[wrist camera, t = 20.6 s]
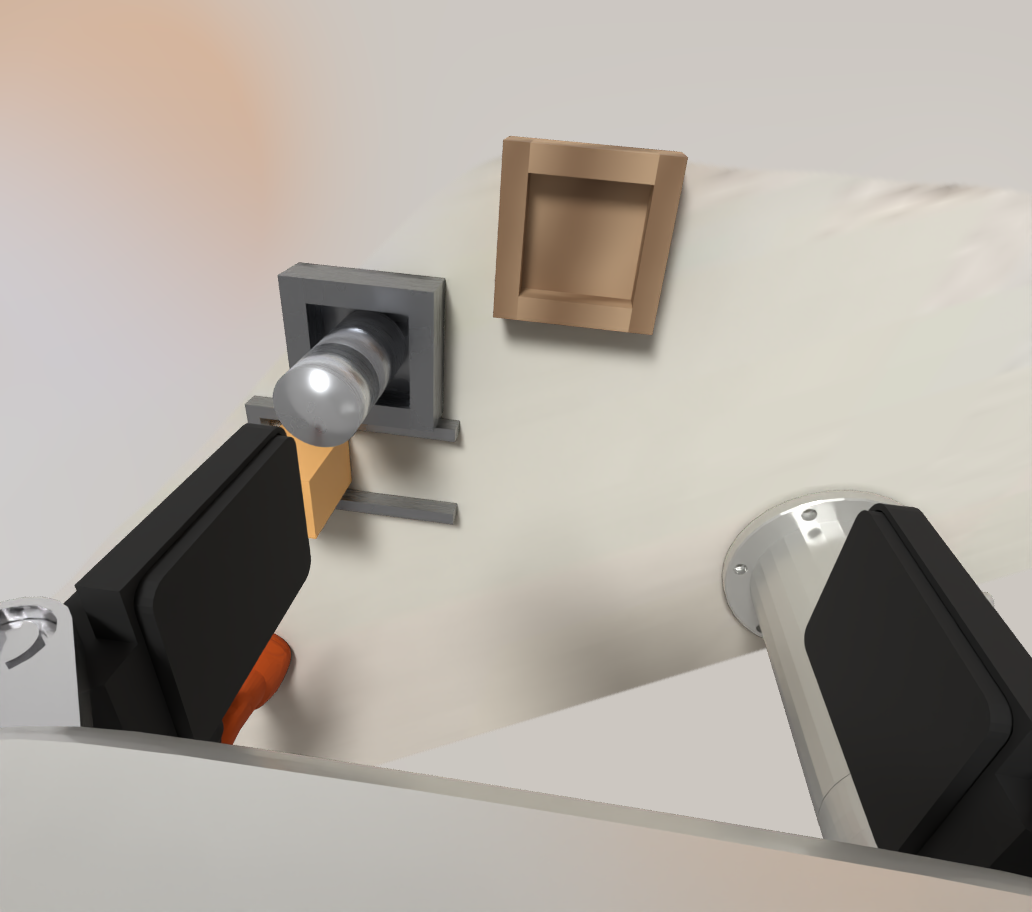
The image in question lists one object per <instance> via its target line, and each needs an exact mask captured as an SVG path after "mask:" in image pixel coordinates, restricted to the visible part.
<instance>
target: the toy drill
mask: <svg viewBox="0 0 1032 912" xmlns="http://www.w3.org/2000/svg"><path fill="white" fill-rule="evenodd" d="M290 660H291V651H290V648H289V646H288V644H287V643H286V642H285V641H284V640H283V639H282V638H280V637H279V636H278V635H276V634H273V635H272V637H271V639H270V640H269V642H268V644H267V645H266V647H265V649H264V650H263V652H262V654H261V655H260V657H259V659H258V660H257V662H256V664H255V665H254V667H253V669H252V670H251V672H250V674H249V675H248V677H247V679H246V680H245V682H244V684H243V685H242V687H241V689H240V690H239V692H238V694H237V695H236V697H235V699H234V701H233V702H232V704H231V706H230V707H229V709H228V711H227V712H226V714H225V716H224V717H223V719H222V721H221V722H220V724H219V726H218V727H217V729H216V731H215V732H214V734H213V736H212V737H211V739H210V740H209V741H208V742H216V743H223V744H230V745H233V743H234V741H235V739H236V737H237V735H238V733H239V731H240V729H241V728H242V727H243V725H244V724H245V722H246V721H247V719H248V718H249V716H250V715H251V714H252V712H253V711H254V710H255V709H258V708H259V707H261V706H262V705H263V704H265V703H266V702H267V701H268V700H269V699H270V698H271V697H272V696H273V695H274V693H275V692H276V691H277V689H278V688H279V686H280V684H281V682H282V680H283V679H284V676H285V674H286V672H287V669H288V667H289V664H290Z"/></svg>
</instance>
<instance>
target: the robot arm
mask: <svg viewBox="0 0 1032 912" xmlns="http://www.w3.org/2000/svg"><path fill="white" fill-rule="evenodd" d="M310 565H311V555H310V547H309V539H308V532H307V524H306V516H305V508H304V501H303V493H302V485H301V477H300V470H299V462H298V454H297V447H296V442H295V440H294V438H292V437H289V436H287V434H286V432H285V430H284V429H283V428H281V427H277V426H269V425H261V424H253V423H246V424H245V425H243V426H242V427H241V428H240V429H239V430H238V431H237V432H236V433H235V434H234V435H232V436H231V437H230V438H229V439H228V440H227V441H226V442H225V443H224V444H223V445H222V446H221V447H220V448H219V449H218V450H217V451H216V452H215V453H213V454H212V455H211V456H210V457H209V458H208V459H207V460H206V461H205V462H204V463H203V464H202V465H201V466H200V467H199V468H198V469H197V470H196V471H194V472H193V473H192V474H191V475H190V476H189V477H188V478H187V479H186V480H185V481H184V482H183V483H182V484H181V485H180V486H179V487H178V488H177V489H175V490H174V491H173V492H172V493H171V494H170V495H169V496H168V497H167V498H166V499H165V500H164V501H163V502H162V503H161V504H160V505H159V506H158V507H157V508H155V509H154V510H153V511H152V512H151V513H150V514H149V515H148V516H147V517H146V518H145V519H144V520H143V521H142V522H141V523H140V524H139V525H138V526H136V527H135V528H134V529H133V530H132V531H131V532H130V533H129V534H128V535H127V536H126V537H125V538H124V539H123V540H122V541H121V542H120V543H119V544H117V545H116V546H115V547H114V548H113V549H112V550H111V551H110V552H109V553H108V554H107V555H106V556H105V557H104V558H103V559H102V560H101V561H100V562H98V563H97V564H96V565H95V566H94V567H93V568H92V569H91V570H90V571H89V572H88V573H87V574H86V575H85V576H84V577H83V578H82V579H81V580H79V581H78V582H77V583H76V584H75V588H76V590H77V591H76V592H75V593H74V594H73V595H72V596H71V597H70V598H69V599H68V600H67V601H66V602H65V603H64V604H63V603H61V602H60V601H58V600H55V599H51V598H46V597H22V598H17V599H12V600H7V601H2V602H0V912H1032V658H1031V656H1030V655H1029V654H1028V652H1027V651H1026V650H1025V649H1024V647H1023V646H1022V644H1021V643H1020V642H1019V641H1018V639H1017V638H1016V636H1015V635H1014V634H1013V632H1012V631H1011V630H1010V629H1009V627H1008V626H1007V624H1006V623H1005V622H1004V621H1003V619H1002V618H1001V617H1000V615H999V614H998V613H997V611H996V610H995V609H994V600H993V598H992V596H991V595H990V594H989V593H988V592H982V591H981V590H980V589H979V587H978V586H977V585H976V583H975V582H974V581H973V579H972V578H971V577H970V575H969V574H968V573H967V571H966V570H965V569H964V567H963V566H962V565H961V563H960V562H959V561H958V559H957V558H956V557H955V555H954V554H953V553H952V551H951V550H950V549H949V547H948V546H947V545H946V543H945V542H944V541H943V540H942V538H941V537H940V536H939V534H938V533H937V532H936V530H935V529H934V528H933V526H932V525H931V524H930V522H929V521H928V520H927V518H926V517H925V516H924V514H923V513H922V512H921V511H920V510H919V509H918V508H914V507H907V506H904V505H902V504H900V503H898V502H896V501H894V500H893V499H891V498H887V497H884V496H881V495H877V494H874V493H870V492H862V491H853V490H837V491H824V492H819V493H813V494H807V495H804V496H801V497H798V498H795V499H792V500H788V501H786V502H784V503H782V504H780V505H778V506H776V507H774V508H772V509H770V510H768V511H766V512H765V513H763V514H762V515H760V516H759V517H758V518H756V519H755V520H753V521H752V522H751V523H750V524H749V525H748V526H747V527H746V528H745V529H744V530H743V531H742V532H741V533H740V534H739V535H738V536H737V538H736V539H735V541H734V542H733V544H732V545H731V547H730V548H729V551H728V553H727V556H726V558H725V561H724V566H723V573H722V579H723V587H724V592H725V595H726V599H727V602H728V605H729V607H730V609H731V610H732V612H733V614H734V616H735V617H736V618H737V619H738V620H739V621H740V622H741V623H742V624H743V626H744V627H746V628H747V629H748V630H750V631H751V632H752V633H754V634H755V635H757V636H759V637H761V638H764V641H765V645H766V648H767V651H768V655H769V658H770V662H771V665H772V668H773V671H774V675H775V678H776V682H777V685H778V688H779V692H780V695H781V698H782V702H783V705H784V709H785V712H786V715H787V719H788V722H789V725H790V729H791V732H792V736H793V739H794V742H795V746H796V749H797V753H798V756H799V759H800V763H801V766H802V769H803V773H804V776H805V779H806V783H807V786H808V790H809V793H810V796H811V800H812V803H813V806H814V810H815V813H816V816H817V820H818V823H819V826H820V829H821V832H822V836H823V839H820V838H814V837H808V836H802V835H796V834H790V833H784V832H778V831H772V830H766V829H760V828H754V827H748V826H742V825H735V824H730V823H723V822H718V821H712V820H706V819H700V818H694V817H688V816H681V815H675V814H669V813H664V812H657V811H651V810H645V809H639V808H633V807H626V806H620V805H614V804H608V803H602V802H595V801H589V800H583V799H577V798H571V797H564V796H558V795H551V794H546V793H539V792H533V791H527V790H521V789H514V788H508V787H502V786H495V785H489V784H483V783H476V782H471V781H464V780H458V779H452V778H445V777H438V776H433V775H426V774H419V773H413V772H406V771H400V770H394V769H388V768H381V767H375V766H368V765H362V764H355V763H349V762H343V761H336V760H330V759H323V758H317V757H310V756H304V755H297V754H291V753H284V752H278V751H271V750H265V749H259V748H252V747H245V746H237V745H230V744H223V743H216V742H208V741H209V740H210V739H211V737H212V736H213V734H214V732H215V731H216V729H217V727H218V726H219V724H220V722H221V721H222V719H223V717H224V716H225V714H226V712H227V711H228V709H229V707H230V706H231V704H232V702H233V701H234V699H235V697H236V695H237V694H238V692H239V690H240V689H241V687H242V685H243V684H244V682H245V680H246V679H247V677H248V675H249V674H250V672H251V670H252V669H253V667H254V665H255V664H256V662H257V660H258V659H259V657H260V655H261V654H262V652H263V650H264V649H265V647H266V645H267V644H268V642H269V640H270V639H271V637H272V635H273V634H274V632H275V630H276V629H277V627H278V625H279V624H280V622H281V620H282V619H283V617H284V615H285V614H286V612H287V610H288V609H289V607H290V605H291V604H292V602H293V600H294V599H295V597H296V595H297V594H298V592H299V590H300V589H301V587H302V585H303V584H304V582H305V580H306V578H307V576H308V573H309V570H310Z"/></svg>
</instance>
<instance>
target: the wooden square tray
mask: <svg viewBox="0 0 1032 912" xmlns="http://www.w3.org/2000/svg"><path fill="white" fill-rule="evenodd" d="M687 160H688V157H687V156H686V155H684V154H683V153H682V152H675V151H665V150H653V149H644V148H643V149H642V148H633V147H622V146H612V145H600V144H590V143H580V142H569V141H559V140H548V139H537V138H526V137H515V136H509V137H507V138H506V139H504V140H503V153H502V171H501V188H500V205H499V223H498V240H497V258H496V275H495V293H494V310H493V317H495V318H504V319H513V320H522V321H531V322H540V323H549V324H558V325H567V326H576V327H585V328H594V329H603V330H612V331H621V332H630V333H639V334H648V335H652V334H653V329H654V324H655V319H656V314H657V309H658V304H659V299H660V294H661V289H662V284H663V279H664V274H665V269H666V264H667V259H668V254H669V249H670V244H671V239H672V234H673V229H674V224H675V219H676V214H677V210H678V205H679V200H680V195H681V190H682V185H683V180H684V175H685V170H686V165H687Z"/></svg>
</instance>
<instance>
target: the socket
mask: <svg viewBox="0 0 1032 912" xmlns="http://www.w3.org/2000/svg"><path fill="white" fill-rule="evenodd" d="M278 281H279V290H280V297H281V305H282V313H283V321H284V329H285V336H286V344H287V352H288V360H289V367H290V369H291V368H292V367H293V366H294V365H295V364H296V363H297V362H298V361H299V360H300V359H301V358H302V357H303V356H305V355H306V354H307V353H308V352H309V351H310V350H311V349H312V348H313V347H314V346H315V345H316V344H317V343H319V342H320V341H321V340H322V339H323V338H324V337H325V336H326V335H327V334H328V333H329V332H330V331H331V330H332V329H334V328H335V327H336V326H337V325H338V324H339V323H340V322H341V321H342V320H343V319H344V318H345V317H347V316H348V315H349V314H351V313H353V312H356V311H360V310H369V311H376V312H380V313H382V314H384V315H386V316H387V317H389V318H390V319H391V320H393V321H394V322H395V323H396V324H397V326H398V327H399V328H400V330H401V331H402V333H403V335H404V338H405V342H406V357H405V360H404V362H403V364H402V366H401V367H400V369H399V370H398V372H397V373H396V374H395V376H394V377H393V379H392V380H391V382H390V383H389V384H388V386H387V387H386V389H385V390H384V392H383V393H382V395H381V396H380V397H379V399H378V400H377V402H376V403H375V405H374V406H373V408H372V409H371V410H370V412H369V413H368V415H367V416H366V418H365V419H364V421H363V422H362V423H361V424H369V425H377V426H386V427H394V428H402V429H410V430H418V431H426V432H434V430H435V427H436V425H437V423H438V421H439V419H440V417H441V415H442V413H443V380H444V309H445V278H438V277H429V276H420V275H411V274H401V273H392V272H383V271H374V270H365V269H355V268H346V267H337V266H327V265H318V264H309V263H297V264H295V265H294V266H292V267H291V268H289V269H287V270H286V271H284V272H282V273H281V274H279V275H278Z"/></svg>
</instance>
